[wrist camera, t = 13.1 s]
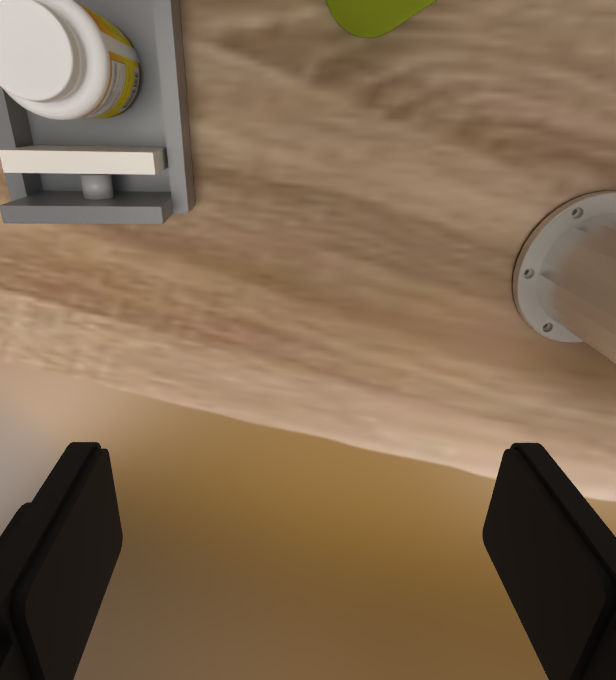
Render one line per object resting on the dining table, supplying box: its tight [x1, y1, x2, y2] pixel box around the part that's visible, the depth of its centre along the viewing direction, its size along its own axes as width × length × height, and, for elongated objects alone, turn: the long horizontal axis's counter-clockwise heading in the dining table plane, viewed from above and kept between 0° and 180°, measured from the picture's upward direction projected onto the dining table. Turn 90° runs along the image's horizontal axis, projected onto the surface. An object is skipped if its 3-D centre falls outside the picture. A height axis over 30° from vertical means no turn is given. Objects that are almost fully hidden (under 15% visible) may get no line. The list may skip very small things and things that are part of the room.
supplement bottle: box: [0, 0, 142, 120], centre depth 25 cm, size 6×6×10 cm
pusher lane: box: [0, 0, 195, 224], centre depth 27 cm, size 11×20×7 cm, turn 179°
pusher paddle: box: [0, 145, 168, 175], centre depth 29 cm, size 8×1×5 cm, turn 89°
